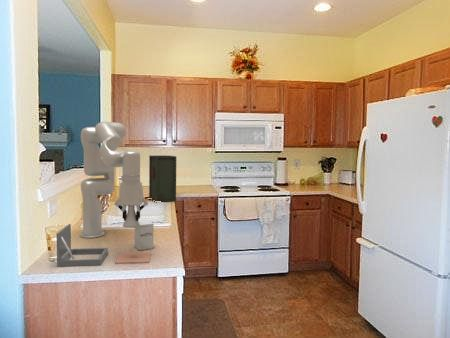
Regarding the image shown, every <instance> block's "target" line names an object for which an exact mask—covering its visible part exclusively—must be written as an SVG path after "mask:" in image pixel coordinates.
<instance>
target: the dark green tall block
mask: <svg viewBox="0 0 450 338" xmlns="http://www.w3.org/2000/svg"><path fill="white" fill-rule="evenodd" d="M148 157H149V159H148V160H149V162H148V166H149V167H148V169H149V170H148V171H149V173H148V174H149V177H148V178H149V182H148V185H149V186H148V189H149V191H148V193H149V194H148V195H149V197H148V199H149V198H152V199H154V200H155V201H161V202H163V203H174V202H176V203H177V156H176V155H148ZM149 201H151V199H150V200H149ZM155 201H154V202H153V200H152V201H151V202H153V203H155ZM155 204H158V203H157V202H156V203H155Z"/></svg>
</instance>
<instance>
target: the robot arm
mask: <svg viewBox="0 0 450 338" xmlns="http://www.w3.org/2000/svg"><path fill="white" fill-rule="evenodd" d="M125 136H126V128H125V126H124V124H122V123H121V122H115V121H113V122H112V121H101V122H98V123H96V125H95V126H87V127H84V128H82V129H81V131H80V142H81V145H82V148H83V173H84V174H85V176H90V177H91V178H86V179H83V180H82V181H81V182H80V191H81V196H82V228H83V229H82V232H81V233H80V234H79V236H80V237H81V238H84V239H85V238H86V239H93V238H94V239H95V238H100V237H103V236H105V231H104V230H102V227H103V225H102V223H103V222H102V221H103V220H102V202H101V200H100V198H98V197H97V196H105V195H111V194H112V193H114V190H115V177H116V176H115V173H116V171H115V170H116V169H115V168H122V175H121V176H118V180H119V181H120V180H121V181H122V182H121V181H120V183H119V184H120V185H119V190H118V191H119V193H118V198H117V200H115V203H114V206H116V207H117V208H118V209H119V210H120V211H121V212H122V219H123V221H124V222H125V220H126V216H127V213H128V210H126V209H127V207H128V206H134V207H135V208H136V211H135V213H136V220H137V221H139V219H141V211H142V210H143V209H144V208H146V207H147V206H148V205H149V202H148V201H147V200H146V199H145V197H144V190H143V189H144V188H143V183H142V182H141V153H140V152H138V151H136V150H135V151H134V150H128V149H127V150H123V149H121V150H119V149H118V148H120V146H121V144H122V140H123V139H124V138H125ZM99 144H101V145H100V146H99ZM116 149H117V150H116ZM97 176H98V177H97ZM99 176H104V177H99ZM93 177H94V178H93Z"/></svg>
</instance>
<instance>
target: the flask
mask: <svg viewBox="0 0 450 338" xmlns="http://www.w3.org/2000/svg"><path fill="white" fill-rule="evenodd" d="M139 222H140V221H139V220H138V221H137V220H136V209H135V206H127V216H126V220H125V221H124V222H123V224H122V227H123V228H135V227H138V226H139V225H140V224H139Z"/></svg>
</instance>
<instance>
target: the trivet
mask: <svg viewBox="0 0 450 338" xmlns="http://www.w3.org/2000/svg"><path fill="white" fill-rule="evenodd" d="M151 254H152V251H150V250H149V251H120V252H119V254H118V256H117V258H116V260H115V265H124V264H125V265H127V264H129V265H130V264H149V263H150V259H151Z"/></svg>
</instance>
